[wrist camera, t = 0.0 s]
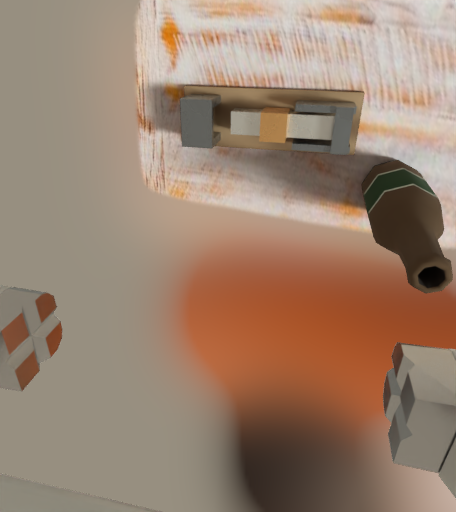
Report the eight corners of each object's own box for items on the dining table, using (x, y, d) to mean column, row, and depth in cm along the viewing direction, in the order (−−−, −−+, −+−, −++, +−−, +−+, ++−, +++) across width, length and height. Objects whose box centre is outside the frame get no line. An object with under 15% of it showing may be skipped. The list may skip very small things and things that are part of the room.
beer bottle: (348, 182, 54) (364, 268, 34) (400, 145, 51) (453, 218, 30) (380, 223, 56) (413, 329, 36) (432, 191, 53) (503, 288, 32)
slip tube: (235, 105, 52) (228, 111, 48) (345, 110, 49) (346, 116, 45) (234, 132, 53) (227, 139, 49) (340, 138, 51) (342, 146, 47)
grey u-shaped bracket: (297, 99, 50) (295, 105, 46) (354, 102, 49) (357, 107, 45) (293, 142, 53) (291, 151, 48) (347, 146, 51) (349, 155, 47)
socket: (191, 93, 52) (180, 98, 48) (220, 95, 52) (211, 99, 47) (192, 138, 55) (182, 146, 51) (220, 139, 54) (212, 148, 50)
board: (186, 85, 53) (184, 86, 52) (363, 91, 49) (364, 92, 48) (188, 142, 57) (186, 144, 56) (353, 153, 52) (353, 155, 52)
